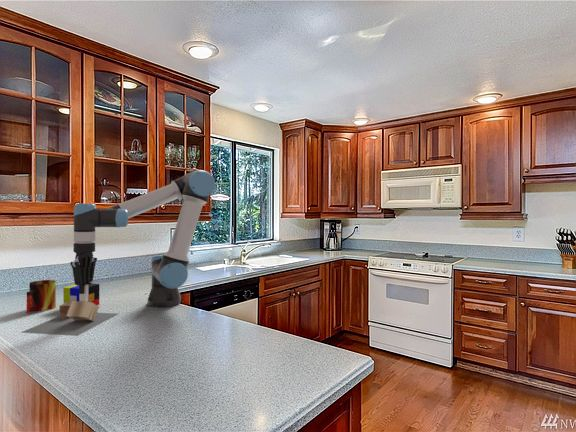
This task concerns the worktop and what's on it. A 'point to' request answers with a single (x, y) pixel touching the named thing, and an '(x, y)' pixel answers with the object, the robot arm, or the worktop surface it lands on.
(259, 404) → the worktop surface
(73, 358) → the worktop surface
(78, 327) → the mat
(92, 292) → the puzzle toy
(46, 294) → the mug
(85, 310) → the oak block
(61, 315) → the walnut cube
